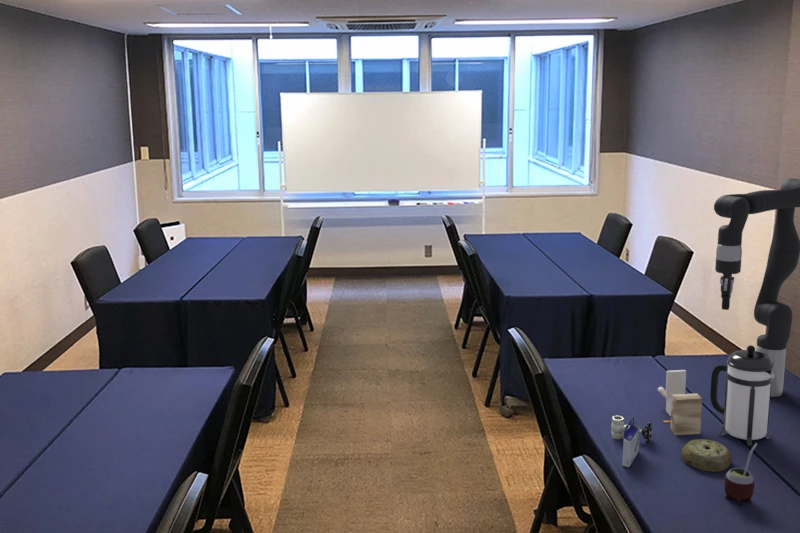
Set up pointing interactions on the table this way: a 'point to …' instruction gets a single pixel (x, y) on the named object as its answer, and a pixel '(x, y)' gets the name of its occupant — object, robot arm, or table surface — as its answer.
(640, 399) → the table surface
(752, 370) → the coffee press
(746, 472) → the mate gourd
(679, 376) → the white upright panel
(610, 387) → the table surface
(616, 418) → the valve
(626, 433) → the ink box
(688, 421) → the rod stand
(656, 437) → the table surface
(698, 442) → the weight
